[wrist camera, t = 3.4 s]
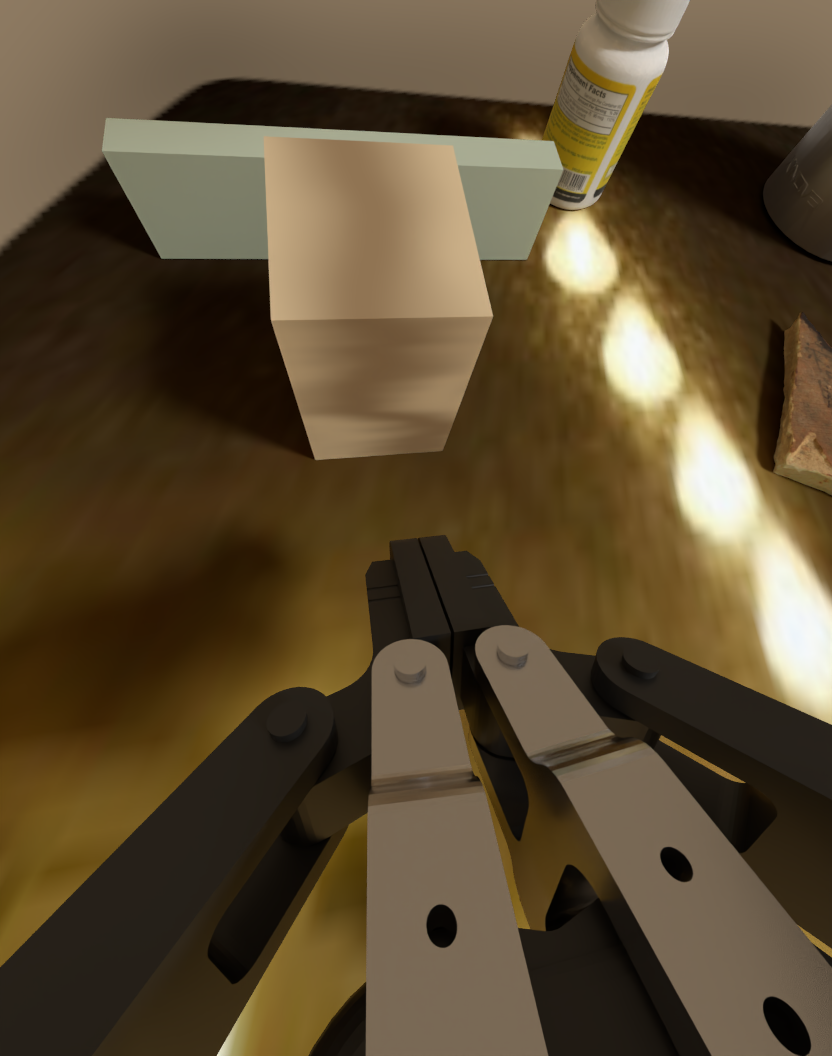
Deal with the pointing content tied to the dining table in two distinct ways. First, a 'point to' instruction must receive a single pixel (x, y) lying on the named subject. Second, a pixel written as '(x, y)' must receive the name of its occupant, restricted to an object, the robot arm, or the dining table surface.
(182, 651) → the dining table surface
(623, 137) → the supplement bottle
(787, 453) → the shard
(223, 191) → the sage fence board
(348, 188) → the birch block
